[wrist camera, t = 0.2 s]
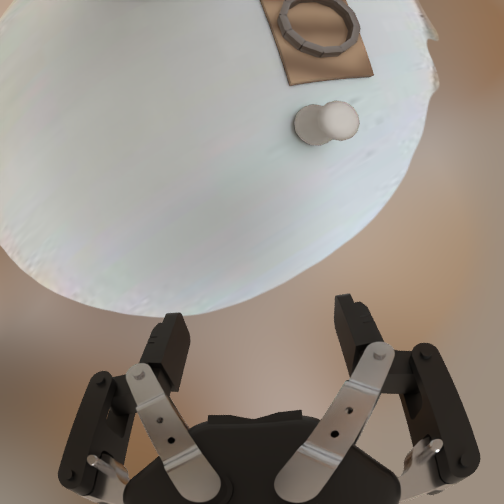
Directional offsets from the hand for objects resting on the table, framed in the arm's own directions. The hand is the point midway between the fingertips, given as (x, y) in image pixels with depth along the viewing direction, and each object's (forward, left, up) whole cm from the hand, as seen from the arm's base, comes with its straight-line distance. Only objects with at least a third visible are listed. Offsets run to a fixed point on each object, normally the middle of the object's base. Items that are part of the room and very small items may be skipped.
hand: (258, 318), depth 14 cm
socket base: (-24, +16, -28) cm, 40 cm away
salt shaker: (-8, +11, -28) cm, 31 cm away
